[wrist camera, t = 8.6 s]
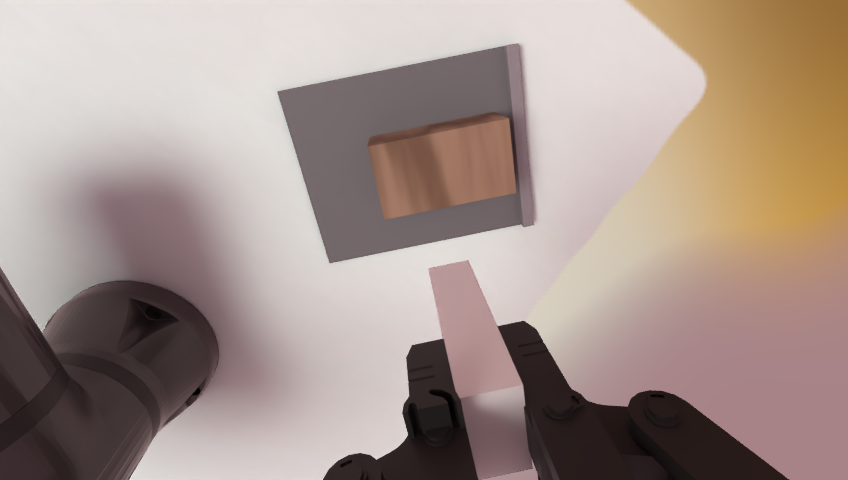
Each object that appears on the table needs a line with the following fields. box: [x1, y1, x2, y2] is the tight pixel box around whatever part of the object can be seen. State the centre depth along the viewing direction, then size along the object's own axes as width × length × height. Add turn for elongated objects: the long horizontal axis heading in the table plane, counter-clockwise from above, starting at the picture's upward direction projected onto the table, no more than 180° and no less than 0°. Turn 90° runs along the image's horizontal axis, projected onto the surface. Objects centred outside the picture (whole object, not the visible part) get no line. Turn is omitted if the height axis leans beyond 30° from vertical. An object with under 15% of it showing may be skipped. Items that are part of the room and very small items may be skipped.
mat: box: [278, 44, 534, 263], centre depth 37 cm, size 20×16×1 cm
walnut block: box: [367, 112, 516, 220], centre depth 35 cm, size 5×6×11 cm
